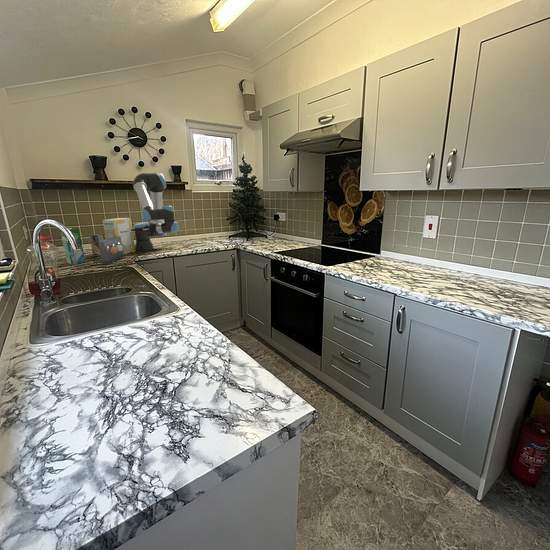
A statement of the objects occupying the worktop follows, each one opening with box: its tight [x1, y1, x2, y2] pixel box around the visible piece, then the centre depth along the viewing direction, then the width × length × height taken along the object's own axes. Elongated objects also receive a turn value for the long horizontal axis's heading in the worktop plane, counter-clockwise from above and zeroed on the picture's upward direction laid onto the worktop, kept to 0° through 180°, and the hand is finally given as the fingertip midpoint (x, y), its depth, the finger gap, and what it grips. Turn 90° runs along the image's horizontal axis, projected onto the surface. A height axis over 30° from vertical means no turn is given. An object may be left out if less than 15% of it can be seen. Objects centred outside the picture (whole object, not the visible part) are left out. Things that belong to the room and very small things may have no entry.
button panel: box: [95, 236, 125, 265], centre depth 220 cm, size 8×24×16 cm, turn 1°
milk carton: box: [60, 227, 86, 266], centre depth 213 cm, size 9×9×25 cm
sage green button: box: [121, 243, 127, 249], centre depth 227 cm, size 3×4×4 cm
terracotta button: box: [110, 247, 117, 254], centre depth 212 cm, size 3×4×4 cm
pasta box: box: [102, 217, 137, 255], centre depth 242 cm, size 18×10×28 cm, turn 164°
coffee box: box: [88, 234, 106, 256], centre depth 241 cm, size 9×6×16 cm
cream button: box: [116, 245, 123, 251], centre depth 220 cm, size 3×4×4 cm
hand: (128, 230), depth 225 cm, fingers closed
